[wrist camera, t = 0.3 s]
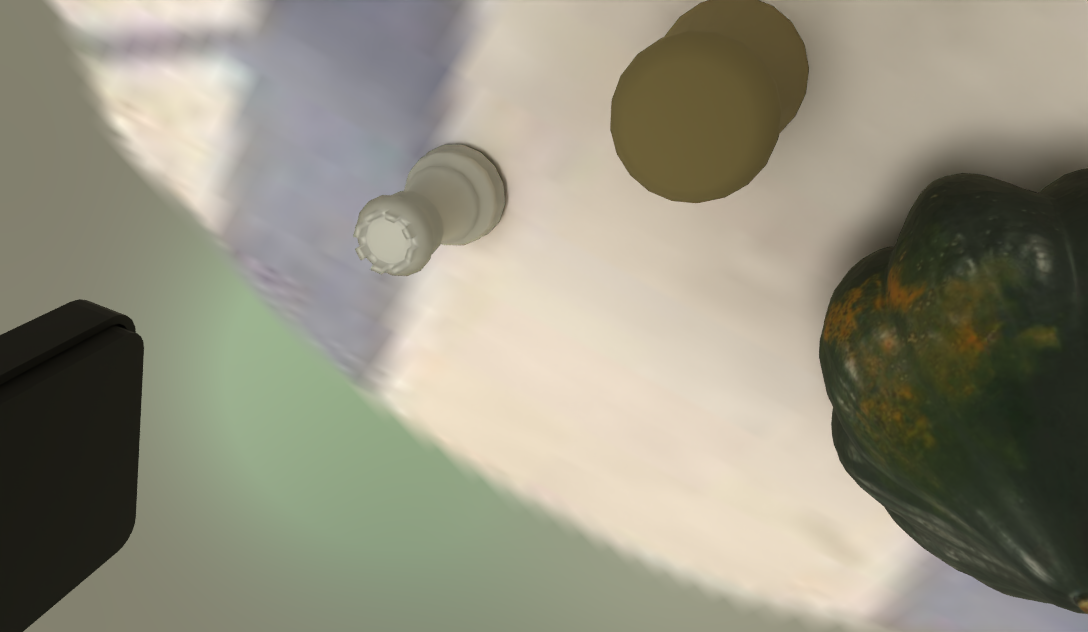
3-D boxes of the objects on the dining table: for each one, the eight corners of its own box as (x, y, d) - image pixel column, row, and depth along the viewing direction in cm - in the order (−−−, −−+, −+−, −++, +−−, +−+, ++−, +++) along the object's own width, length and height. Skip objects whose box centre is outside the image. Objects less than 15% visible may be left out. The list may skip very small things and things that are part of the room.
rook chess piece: (401, 203, 43) (313, 256, 36) (442, 122, 41) (357, 162, 34) (481, 256, 43) (408, 320, 36) (526, 177, 41) (458, 229, 34)
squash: (1108, 1, 28) (899, 404, 22) (1505, 298, 28) (1390, 762, 23) (853, 190, 41) (685, 471, 36) (1124, 390, 41) (997, 697, 36)
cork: (841, 83, 36) (838, 141, 26) (719, 181, 39) (674, 267, 29) (740, -40, 35) (697, -28, 26) (623, 69, 38) (544, 118, 28)
